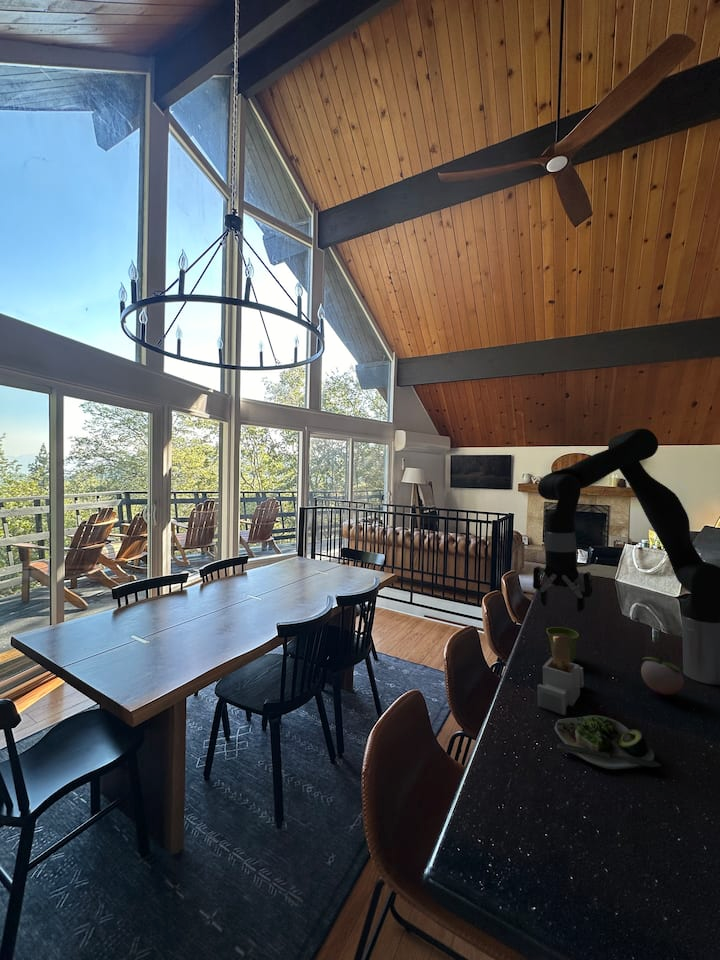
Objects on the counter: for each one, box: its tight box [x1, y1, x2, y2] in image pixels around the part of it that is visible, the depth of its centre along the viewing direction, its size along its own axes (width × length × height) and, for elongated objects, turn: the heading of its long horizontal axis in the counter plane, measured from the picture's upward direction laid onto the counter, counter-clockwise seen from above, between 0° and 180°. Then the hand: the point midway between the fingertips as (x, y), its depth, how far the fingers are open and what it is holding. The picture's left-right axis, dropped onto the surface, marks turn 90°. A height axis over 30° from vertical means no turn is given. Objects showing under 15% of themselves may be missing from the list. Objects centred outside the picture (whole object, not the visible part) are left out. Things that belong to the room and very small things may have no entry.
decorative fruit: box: [640, 656, 685, 696], centre depth 107 cm, size 9×8×10 cm
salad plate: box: [553, 714, 662, 770], centre depth 87 cm, size 19×18×5 cm
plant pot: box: [545, 626, 580, 663], centre depth 129 cm, size 9×9×9 cm
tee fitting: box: [536, 657, 584, 716], centre depth 107 cm, size 7×18×8 cm, turn 138°
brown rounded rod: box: [552, 633, 571, 673], centre depth 107 cm, size 4×4×12 cm
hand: (562, 608), depth 108 cm, fingers open, 8 cm apart
